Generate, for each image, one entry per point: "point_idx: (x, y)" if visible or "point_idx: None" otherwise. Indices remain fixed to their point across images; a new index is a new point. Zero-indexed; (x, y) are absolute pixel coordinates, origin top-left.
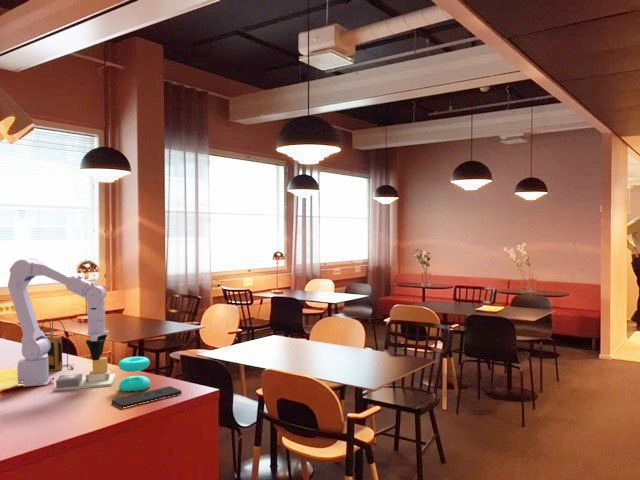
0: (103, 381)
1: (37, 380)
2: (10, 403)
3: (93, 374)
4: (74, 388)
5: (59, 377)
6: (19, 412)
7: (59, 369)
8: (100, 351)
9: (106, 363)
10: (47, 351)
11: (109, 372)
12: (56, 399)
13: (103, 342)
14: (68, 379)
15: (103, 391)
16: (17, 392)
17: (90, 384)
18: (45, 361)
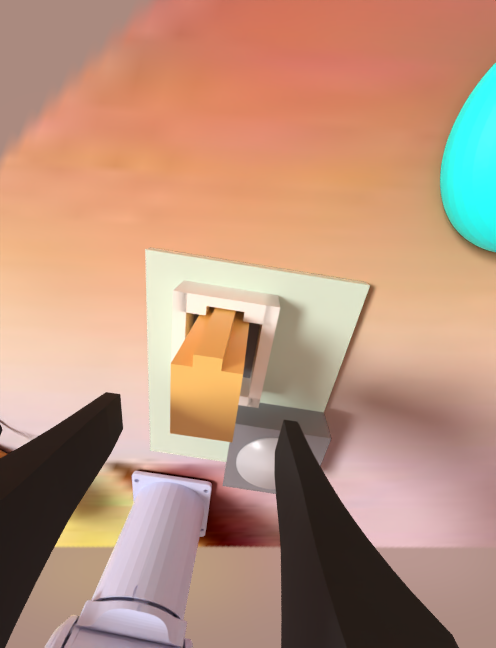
0: (300, 321)
1: (201, 517)
2: (369, 540)
3: (258, 378)
4: None
5: (255, 489)
6: (485, 528)
7: (2, 453)
8: (101, 426)
9: (228, 341)
10: (71, 628)
11: (239, 299)
12: (422, 463)
13: (17, 493)
14: None
15: (444, 322)
16: (258, 530)
17: (323, 374)
18: (162, 586)
